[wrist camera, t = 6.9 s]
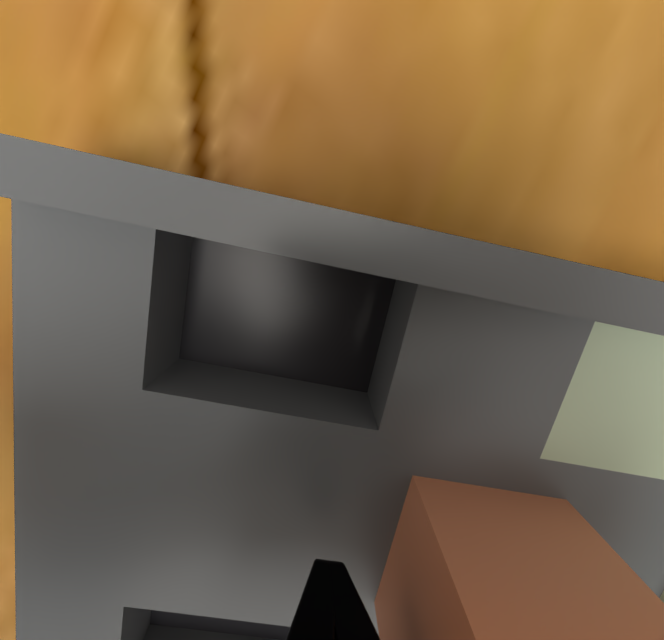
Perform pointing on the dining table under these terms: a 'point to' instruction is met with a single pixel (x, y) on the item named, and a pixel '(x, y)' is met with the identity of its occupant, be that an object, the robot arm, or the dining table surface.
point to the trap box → (291, 395)
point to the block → (506, 571)
